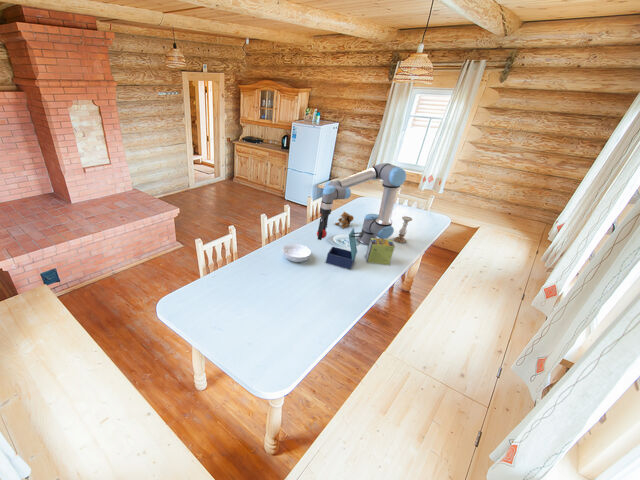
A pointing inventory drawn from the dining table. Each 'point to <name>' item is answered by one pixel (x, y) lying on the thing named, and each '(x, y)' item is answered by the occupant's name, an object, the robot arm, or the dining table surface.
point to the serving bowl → (296, 252)
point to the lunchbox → (340, 258)
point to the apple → (323, 233)
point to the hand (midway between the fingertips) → (321, 237)
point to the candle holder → (403, 230)
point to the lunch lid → (354, 242)
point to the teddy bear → (345, 220)
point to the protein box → (380, 251)
